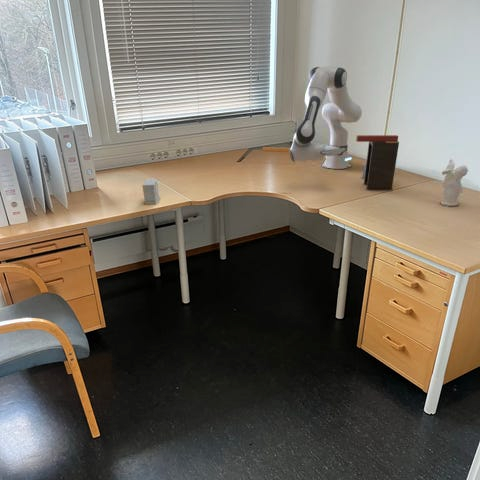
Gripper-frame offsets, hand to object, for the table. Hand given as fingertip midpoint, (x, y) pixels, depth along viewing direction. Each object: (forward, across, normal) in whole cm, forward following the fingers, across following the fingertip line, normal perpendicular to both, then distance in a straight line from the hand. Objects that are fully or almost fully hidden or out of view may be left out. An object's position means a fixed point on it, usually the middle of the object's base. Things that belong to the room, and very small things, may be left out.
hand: (342, 148), depth 270 cm
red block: (+17, -8, -2) cm, 19 cm away
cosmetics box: (-110, -10, +12) cm, 111 cm away
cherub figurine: (+43, -36, +31) cm, 64 cm away
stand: (+19, -2, +24) cm, 31 cm away
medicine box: (+20, +15, +22) cm, 33 cm away
